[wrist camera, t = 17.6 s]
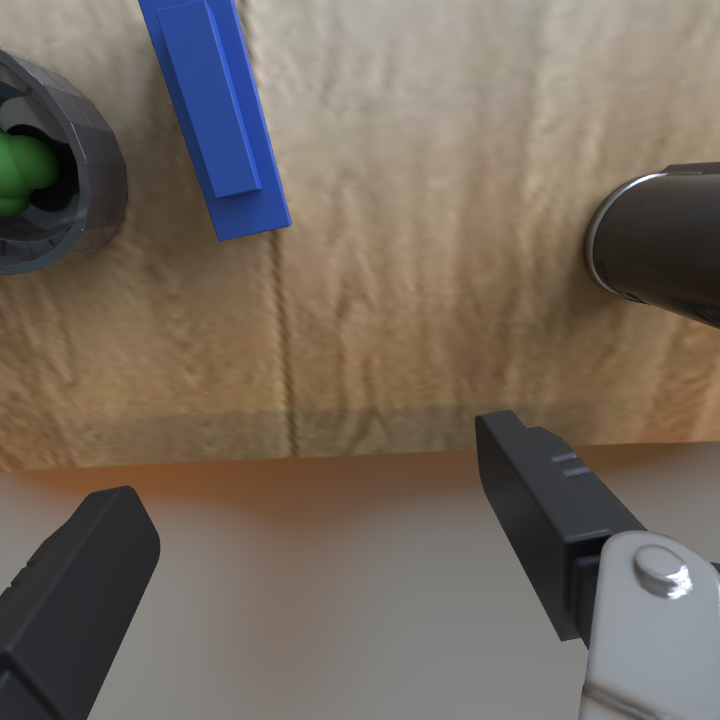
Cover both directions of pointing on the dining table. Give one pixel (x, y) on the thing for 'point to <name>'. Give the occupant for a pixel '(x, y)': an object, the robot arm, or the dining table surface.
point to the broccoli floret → (24, 171)
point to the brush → (219, 112)
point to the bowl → (77, 170)
